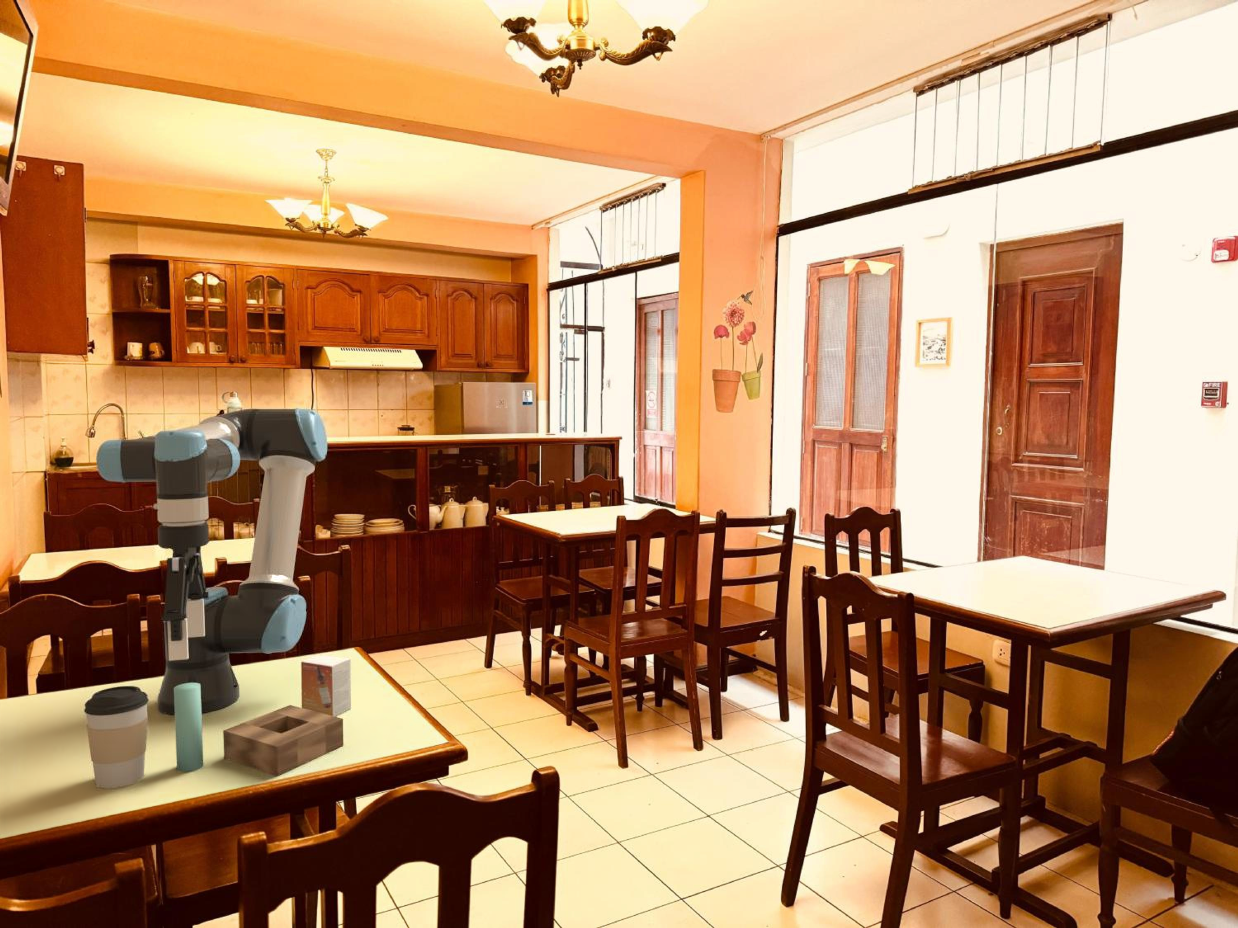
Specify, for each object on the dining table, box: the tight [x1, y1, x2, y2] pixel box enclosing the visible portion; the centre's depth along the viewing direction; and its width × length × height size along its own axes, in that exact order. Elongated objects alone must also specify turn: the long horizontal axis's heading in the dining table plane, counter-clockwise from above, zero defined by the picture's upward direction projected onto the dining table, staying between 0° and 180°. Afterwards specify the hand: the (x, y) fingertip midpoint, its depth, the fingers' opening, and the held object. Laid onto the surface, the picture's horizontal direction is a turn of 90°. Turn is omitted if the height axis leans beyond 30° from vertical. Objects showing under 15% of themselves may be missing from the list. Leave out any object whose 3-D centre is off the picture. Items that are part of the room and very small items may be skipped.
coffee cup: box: [83, 685, 150, 789], centre depth 136 cm, size 9×9×15 cm
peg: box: [174, 683, 204, 773], centre depth 140 cm, size 4×4×14 cm
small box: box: [300, 654, 352, 717], centre depth 166 cm, size 8×6×10 cm
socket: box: [222, 704, 344, 777], centre depth 147 cm, size 14×14×5 cm
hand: (187, 647), depth 139 cm, fingers open, 13 cm apart
